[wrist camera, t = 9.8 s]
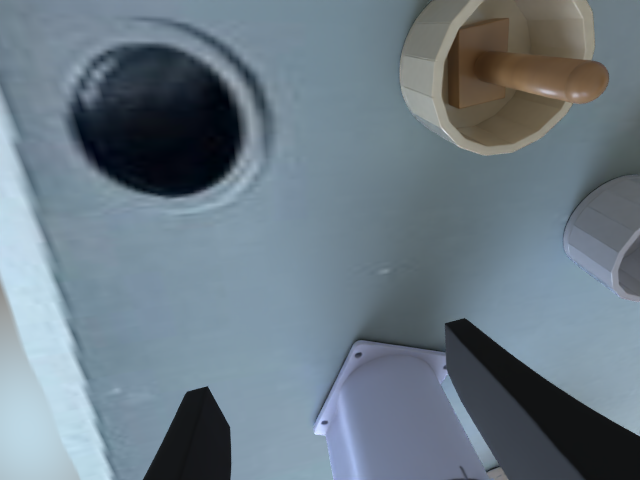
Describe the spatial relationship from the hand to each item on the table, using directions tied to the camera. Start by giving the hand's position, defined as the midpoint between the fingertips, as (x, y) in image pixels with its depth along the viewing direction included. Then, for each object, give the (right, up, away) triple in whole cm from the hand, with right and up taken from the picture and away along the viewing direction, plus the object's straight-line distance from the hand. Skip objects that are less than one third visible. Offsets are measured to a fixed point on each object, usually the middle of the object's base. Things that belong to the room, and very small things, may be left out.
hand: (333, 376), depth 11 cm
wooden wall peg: (+6, +12, +6) cm, 15 cm away
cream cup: (+6, +12, +6) cm, 15 cm away
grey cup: (+18, +5, +12) cm, 22 cm away
